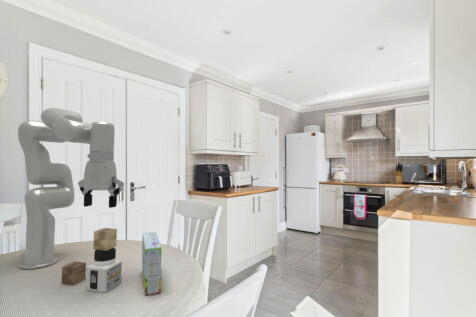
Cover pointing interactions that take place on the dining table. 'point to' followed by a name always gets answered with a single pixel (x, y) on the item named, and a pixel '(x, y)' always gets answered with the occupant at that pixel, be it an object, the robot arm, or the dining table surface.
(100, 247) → the oak block
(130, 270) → the dining table surface
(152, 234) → the snack box
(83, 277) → the walnut block
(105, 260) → the container
